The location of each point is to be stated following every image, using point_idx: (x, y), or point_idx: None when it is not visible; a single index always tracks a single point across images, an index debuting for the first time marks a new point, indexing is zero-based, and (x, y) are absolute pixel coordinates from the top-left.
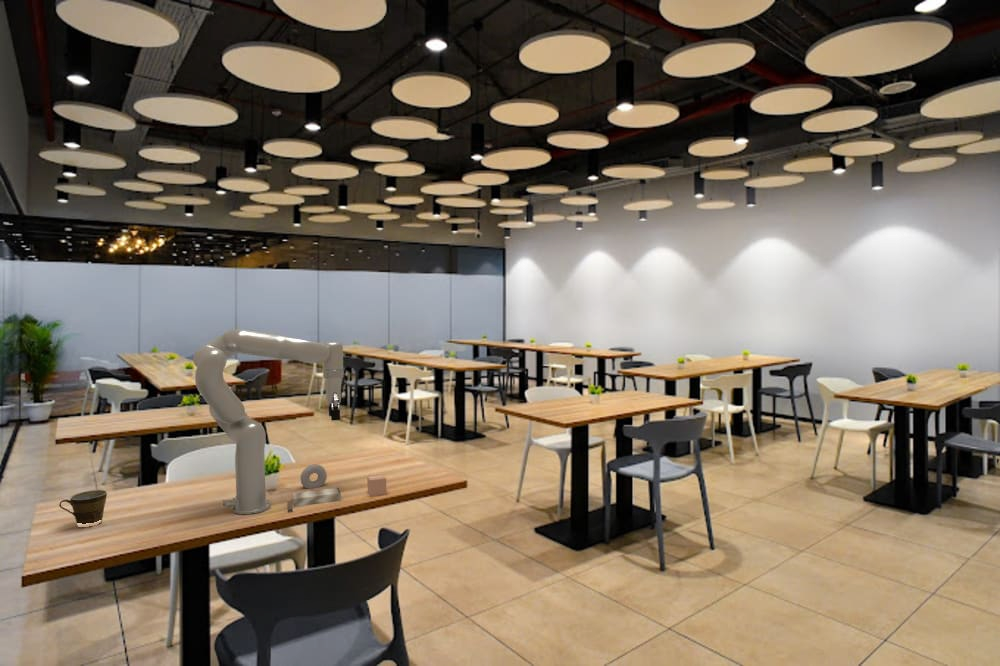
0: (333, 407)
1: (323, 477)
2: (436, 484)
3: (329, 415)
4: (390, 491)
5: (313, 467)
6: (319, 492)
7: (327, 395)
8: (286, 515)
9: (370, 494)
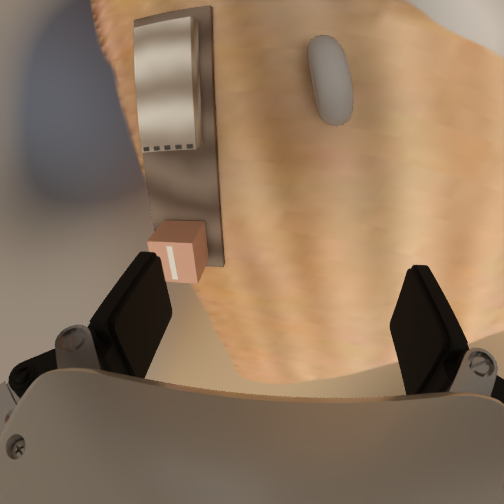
0: (56, 360)
1: (318, 111)
2: (235, 350)
3: (417, 268)
4: (218, 269)
5: (318, 76)
6: (167, 91)
7: (4, 499)
8: (119, 22)
9: (162, 223)
